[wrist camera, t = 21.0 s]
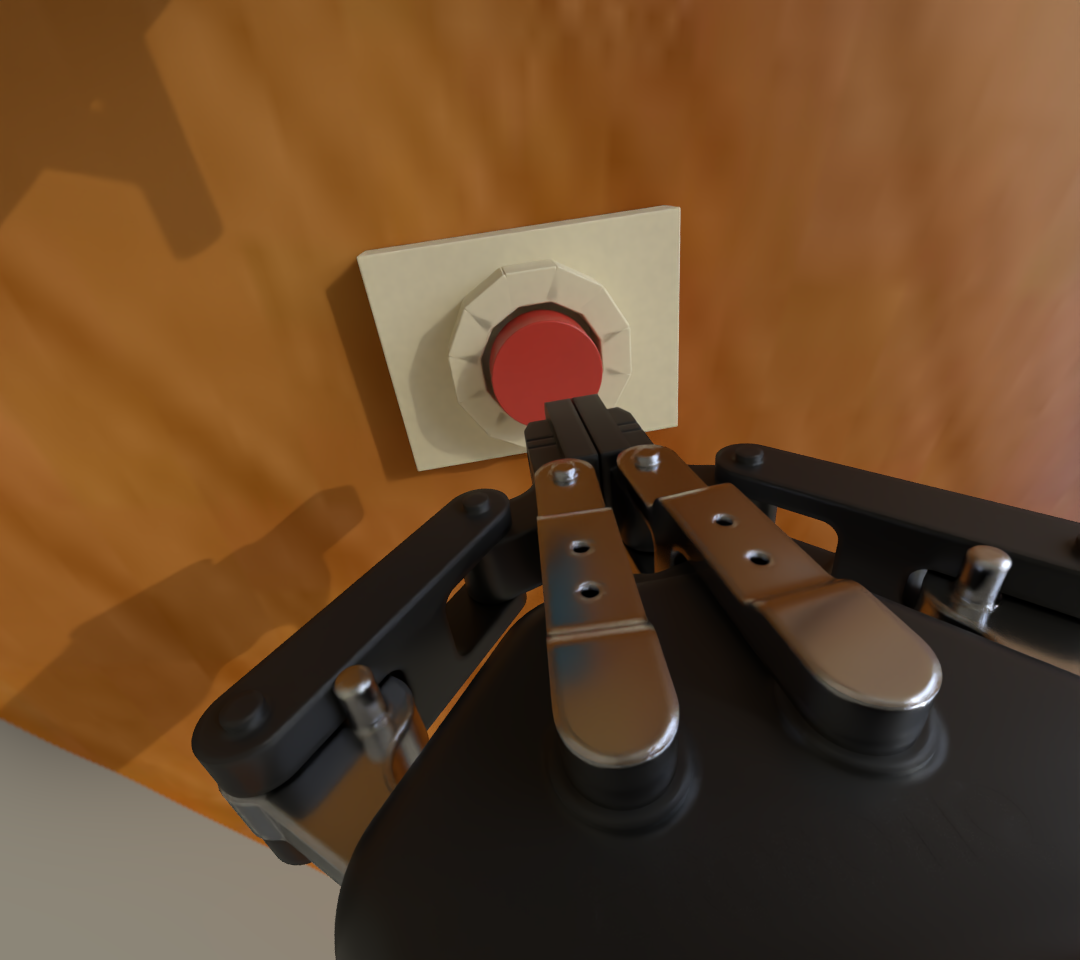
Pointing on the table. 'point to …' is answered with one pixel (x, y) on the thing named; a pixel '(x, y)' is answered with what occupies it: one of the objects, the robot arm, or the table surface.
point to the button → (542, 364)
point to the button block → (511, 290)
